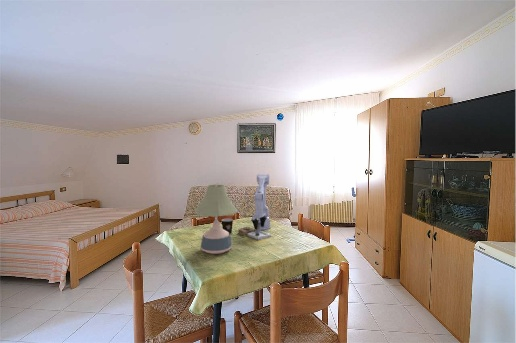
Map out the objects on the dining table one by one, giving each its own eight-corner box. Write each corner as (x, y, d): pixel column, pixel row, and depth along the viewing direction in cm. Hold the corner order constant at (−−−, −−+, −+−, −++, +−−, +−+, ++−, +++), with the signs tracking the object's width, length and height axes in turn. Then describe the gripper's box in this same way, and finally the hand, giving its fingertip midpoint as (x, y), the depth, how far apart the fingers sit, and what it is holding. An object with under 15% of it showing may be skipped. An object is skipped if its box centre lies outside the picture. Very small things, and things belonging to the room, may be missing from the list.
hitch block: (248, 230, 193) (248, 226, 193) (255, 233, 187) (255, 229, 187) (238, 233, 187) (238, 229, 187) (244, 235, 181) (244, 231, 181)
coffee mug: (234, 231, 192) (234, 218, 191) (231, 234, 183) (231, 221, 183) (219, 230, 193) (219, 218, 192) (216, 234, 184) (216, 221, 184)
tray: (260, 232, 189) (260, 230, 189) (270, 236, 179) (270, 234, 179) (247, 235, 181) (247, 233, 181) (257, 240, 172) (257, 237, 172)
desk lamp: (195, 261, 135) (195, 186, 133) (194, 244, 163) (193, 181, 160) (241, 256, 143) (241, 185, 140) (232, 240, 170) (232, 180, 168)
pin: (256, 233, 184) (257, 222, 183) (261, 235, 181) (261, 222, 181) (253, 235, 180) (254, 222, 180) (258, 236, 178) (258, 223, 178)
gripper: (260, 207, 187) (260, 224, 188) (248, 210, 176) (248, 229, 177) (268, 208, 183) (268, 226, 184) (256, 211, 172) (256, 230, 172)
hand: (259, 227), depth 180 cm, fingers open, 7 cm apart
